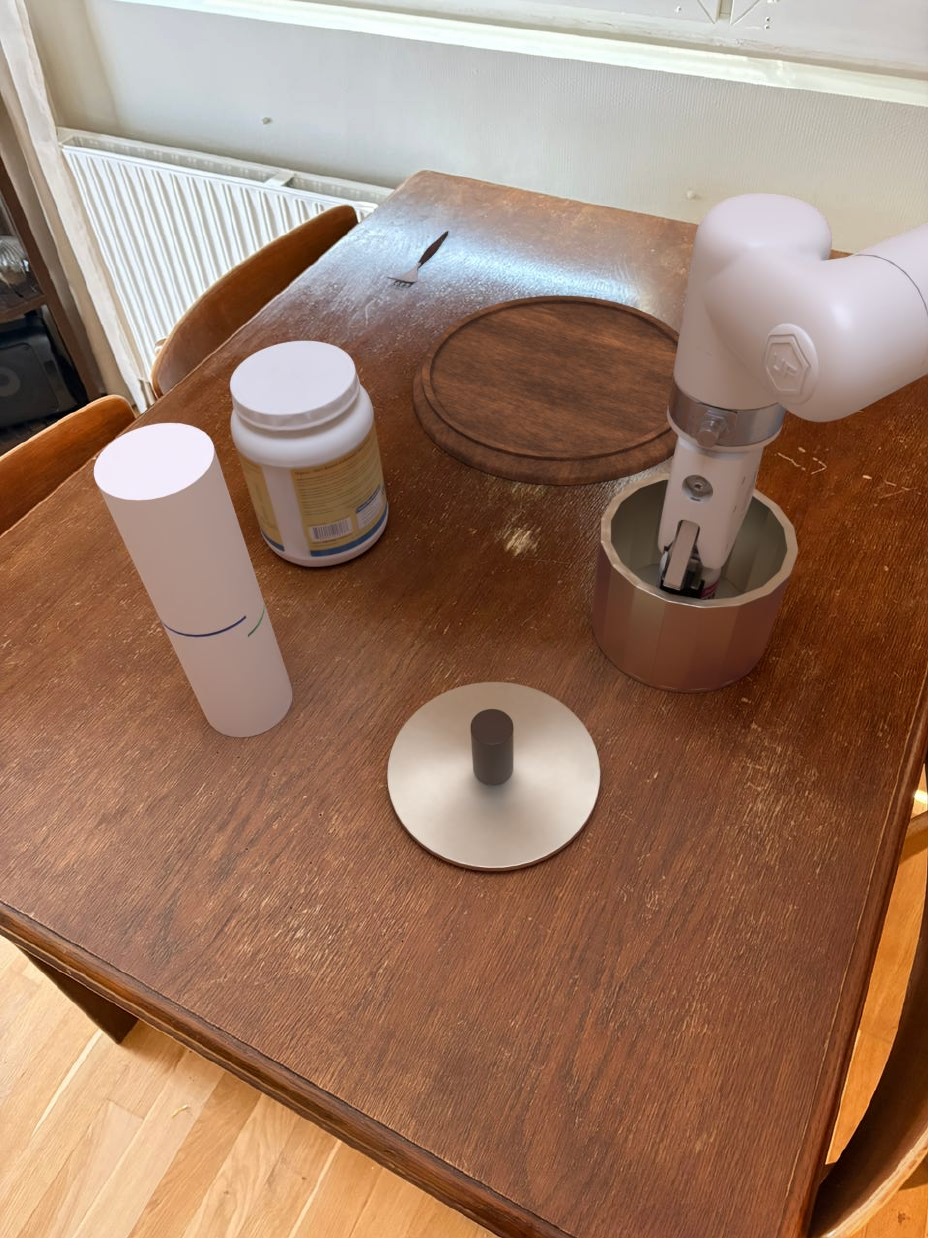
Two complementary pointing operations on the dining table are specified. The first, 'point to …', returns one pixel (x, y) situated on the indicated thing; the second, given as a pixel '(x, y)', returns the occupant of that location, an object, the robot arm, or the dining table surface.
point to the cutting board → (551, 390)
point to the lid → (493, 776)
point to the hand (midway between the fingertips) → (687, 585)
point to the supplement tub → (309, 452)
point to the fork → (421, 261)
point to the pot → (682, 626)
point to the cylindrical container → (197, 572)
